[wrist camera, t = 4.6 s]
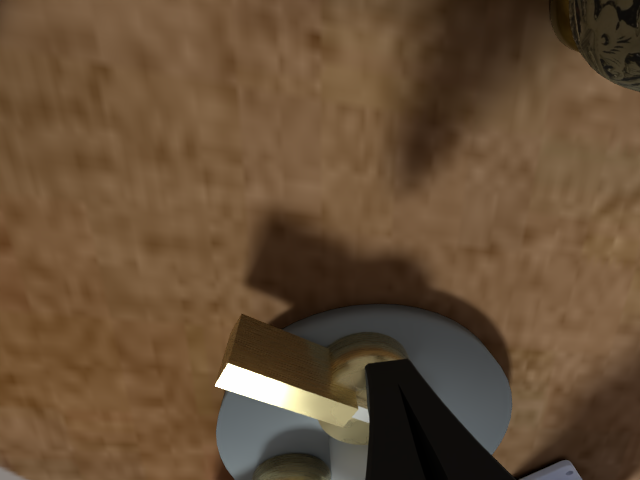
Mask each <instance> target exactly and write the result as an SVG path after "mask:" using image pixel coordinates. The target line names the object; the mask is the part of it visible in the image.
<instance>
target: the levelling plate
mask: <svg viewBox="0 0 640 480" xmlns="http://www.w3.org/2000/svg"><path fill="white" fill-rule="evenodd" d="M282 330H284V331H286V332H289V333H291V334H294V335H296V336H299V337H301V338H304V339H306V340H309V341H311V342H314V343H316V344H319V345H321V346H324V347H328V346H329V345H330V344H331V343H333V342H334V341H336V340H338V339H340V338H342V337H344V336H347V335H350V334H354V333H360V332H375V333H381V334H385V335H387V336H390V337H392V338H394V339H395V340H397V341H398V342H399V343H400V344H401V345H402V346H403V347H404V348H405V350H406V352H407V354H408V356H409V358H410V361H411V362H412V363H413V365H414V366H415V368H416V369H417V370H418V372H419V373H420V374H421V376H422V377H423V378H424V379H425V381H426V382H427V383H428V384H429V386H430V387H431V388H432V389H433V391H434V392H435V393H436V394H437V396H438V397H439V398H440V399H441V400H442V402H443V403H444V404H445V405H446V406H447V407H448V409H449V410H450V411H451V412H452V413H453V414H454V415H455V416H456V418H457V419H458V420H459V421H460V422H461V423H462V424H463V425H464V427H465V428H466V429H467V430H468V431H469V432H470V433H471V434H472V435H473V436H474V437H475V439H476V440H477V441H478V442H479V443H480V444H481V445H482V446H483V447H484V448H485V449H486V450H487V451H488V452H489V453H490V454H491V455H492V454H493V453H494V451H495V450H496V448H497V447H498V446H499V444H500V443H501V441H502V439H503V437H504V435H505V433H506V431H507V428H508V424H509V421H510V418H511V410H512V396H511V390H510V386H509V383H508V379H507V377H506V376H505V374H504V372H503V370H502V368H501V366H500V365H499V364H498V363H497V361H496V360H495V359H494V357H493V356H492V355H491V353H490V352H489V351H488V350H487V348H486V347H485V346H484V345H483V343H482V342H481V341H480V340H479V339H478V338H477V337H476V336H475V335H474V334H473V333H471V332H470V331H469V330H468V329H467V328H465V327H463V326H462V325H460V324H459V323H457V322H455V321H454V320H452V319H449V318H447V317H445V316H442V315H440V314H438V313H435V312H431V311H428V310H424V309H421V308H416V307H410V306H403V305H394V304H367V305H354V306H348V307H343V308H338V309H332V310H329V311H325V312H322V313H319V314H315V315H312V316H309V317H307V318H305V319H302V320H300V321H297V322H295V323H293V324H291V325H289V326H287V327H285V328H284V329H282ZM216 436H217V446H218V450H219V453H220V457H221V459H222V461H223V463H224V465H225V467H226V469H227V470H228V471H229V473H230V474H231V475H232V477H233V478H234V479H235V480H252V476H253V473H254V471H255V469H256V468H257V467H258V466H259V465H260V464H261V463H263V462H264V461H266V460H268V459H270V458H272V457H275V456H279V455H284V454H306V455H310V456H313V457H316V458H318V459H320V460H322V461H323V462H324V463H325V464H326V465H327V466H328V467H329V469H330V472H331V480H365V477H366V467H367V454H368V445H355V444H349V443H345V442H342V441H339V440H337V439H335V438H333V437H331V436H330V435H328V434H327V433H326V432H325V431H324V430H323V429H322V427H321V426H320V424H319V421H318V419H315V418H312V417H309V416H306V415H303V414H299V413H296V412H293V411H290V410H287V409H284V408H281V407H278V406H275V405H272V404H269V403H266V402H263V401H260V400H257V399H254V398H251V397H248V396H245V395H242V394H238V393H235V392H232V391H229V390H226V391H225V394H224V397H223V401H222V405H221V408H220V412H219V416H218V422H217V430H216Z"/></svg>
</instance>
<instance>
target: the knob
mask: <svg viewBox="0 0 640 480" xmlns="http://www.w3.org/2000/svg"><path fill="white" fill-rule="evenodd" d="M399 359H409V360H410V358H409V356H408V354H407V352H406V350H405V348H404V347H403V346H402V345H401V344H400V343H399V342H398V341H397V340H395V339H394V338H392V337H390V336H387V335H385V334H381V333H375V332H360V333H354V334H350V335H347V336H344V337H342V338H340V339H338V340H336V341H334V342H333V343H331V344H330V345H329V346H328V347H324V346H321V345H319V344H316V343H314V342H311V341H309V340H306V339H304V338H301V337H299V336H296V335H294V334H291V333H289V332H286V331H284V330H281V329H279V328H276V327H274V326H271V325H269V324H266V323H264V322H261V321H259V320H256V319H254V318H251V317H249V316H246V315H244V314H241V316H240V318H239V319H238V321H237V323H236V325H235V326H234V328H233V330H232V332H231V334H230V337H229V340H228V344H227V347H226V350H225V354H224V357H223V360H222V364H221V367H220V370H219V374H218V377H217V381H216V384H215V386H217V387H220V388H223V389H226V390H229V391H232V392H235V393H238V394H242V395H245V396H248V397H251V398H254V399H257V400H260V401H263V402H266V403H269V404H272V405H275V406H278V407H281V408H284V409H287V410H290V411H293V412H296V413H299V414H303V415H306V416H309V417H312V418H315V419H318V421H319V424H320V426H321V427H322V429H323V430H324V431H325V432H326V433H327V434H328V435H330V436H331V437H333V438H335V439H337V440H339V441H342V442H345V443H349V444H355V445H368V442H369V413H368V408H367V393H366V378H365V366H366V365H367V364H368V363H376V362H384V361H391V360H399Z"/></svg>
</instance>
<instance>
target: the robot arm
mask: <svg viewBox="0 0 640 480" xmlns="http://www.w3.org/2000/svg"><path fill="white" fill-rule="evenodd" d="M365 378H366V393H367V408H368V413H369V442H368V454H367V467H366V477H365V480H516V479H515V478H514V477H513V476H512V475H511V474H510V473H509V472H508V471H507V470H506V469H505V468H504V467H503V466H502V465H501V464H500V463H499V462H498V461H497V460H496V459H495V458H494V457H493V456H492V455H491V454H490V453H489V452H488V451H487V450H486V449H485V448H484V447H483V446H482V445H481V444H480V443H479V442H478V441H477V440H476V439H475V437H474V436H473V435H472V434H471V433H470V432H469V431H468V430H467V429H466V428H465V427H464V425H463V424H462V423H461V422H460V421H459V420H458V419H457V418H456V416H455V415H454V414H453V413H452V412H451V411H450V410H449V409H448V407H447V406H446V405H445V404H444V403H443V402H442V400H441V399H440V398H439V397H438V396H437V394H436V393H435V392H434V391H433V389H432V388H431V387H430V386H429V384H428V383H427V382H426V381H425V379H424V378H423V377H422V376H421V374H420V373H419V372H418V370H417V369H416V368H415V366H414V365H413V363H412V362H411V361H410V360H409V359H399V360H391V361H384V362H376V363H368V364H367V365H366V366H365ZM519 480H582V478H581V477H580V475H579V474H578V472H577V471H576V469H575V467H574V466H573V465H572V463H571V462H570V461H568V460H563V461H560V462H558V463H555V464H553V465H551V466H549V467H546V468H544V469H542V470H539V471H537V472H535V473H533V474H530V475H528V476H526V477H524V478H521V479H519Z"/></svg>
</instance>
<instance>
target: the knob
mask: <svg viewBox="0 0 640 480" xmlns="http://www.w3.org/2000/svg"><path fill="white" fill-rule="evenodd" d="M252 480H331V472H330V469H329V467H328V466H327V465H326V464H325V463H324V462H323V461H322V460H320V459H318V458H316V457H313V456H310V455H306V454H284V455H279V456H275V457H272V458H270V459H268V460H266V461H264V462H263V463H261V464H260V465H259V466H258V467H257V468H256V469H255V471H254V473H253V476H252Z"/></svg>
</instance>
